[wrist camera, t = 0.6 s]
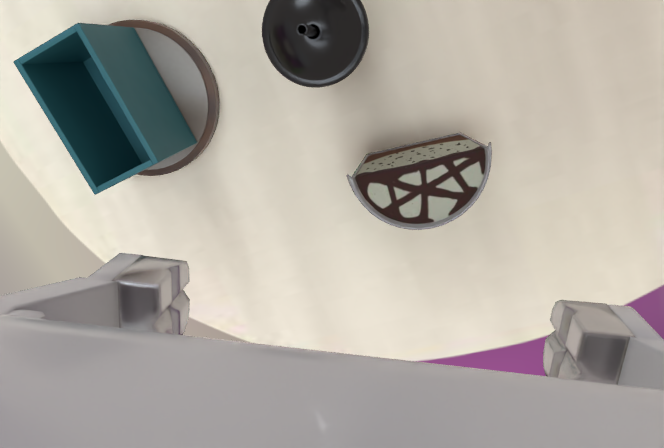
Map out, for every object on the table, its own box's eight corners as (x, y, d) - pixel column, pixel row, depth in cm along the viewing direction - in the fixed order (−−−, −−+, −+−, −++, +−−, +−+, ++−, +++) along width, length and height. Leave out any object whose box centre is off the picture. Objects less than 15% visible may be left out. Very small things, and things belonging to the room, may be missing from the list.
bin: (133, 27, 52) (78, 22, 43) (197, 142, 55) (158, 162, 46) (77, 59, 54) (11, 62, 44) (142, 170, 57) (93, 195, 47)
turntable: (71, 12, 54) (62, 11, 53) (222, 29, 53) (218, 28, 52) (76, 164, 59) (68, 167, 57) (216, 181, 58) (211, 185, 57)
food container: (365, 215, 58) (361, 248, 48) (351, 157, 56) (344, 180, 46) (486, 189, 56) (507, 218, 46) (476, 128, 54) (495, 146, 44)
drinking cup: (385, 9, 52) (384, -13, 33) (356, 89, 54) (339, 112, 35) (307, -21, 51) (261, -60, 32) (281, 61, 54) (224, 68, 35)
